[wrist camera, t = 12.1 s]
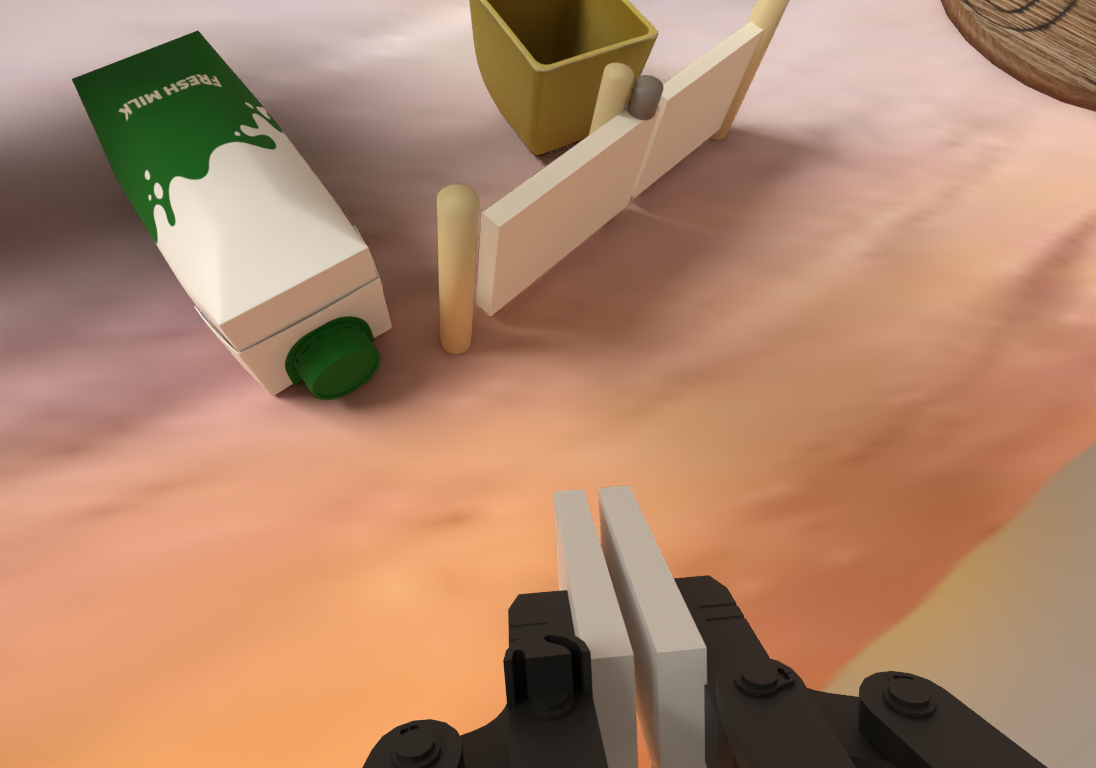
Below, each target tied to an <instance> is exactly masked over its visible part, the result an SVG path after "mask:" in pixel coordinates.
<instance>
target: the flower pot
mask: <svg viewBox="0 0 1096 768" xmlns="http://www.w3.org/2000/svg"><path fill="white" fill-rule="evenodd" d="M469 1H470V11H471V20H472V29H473V37H474V46H475V52H476V57H477V62H478V66H479V69H480V72H481V75H482V78H483V80H484V83H485V85H486V87H487V89H488V91H489V93H490V95H491V97H492V99H493V100H494V102H495V104H496V106H497V107H498V109H499V111H500V113H501V114H502V115H503V116H504V118H505V119H506V120H507V122H508V123H509V124H510V125H511V127H512V128H513V129H514V131H515V132H516V133H517V134H518V136H519V137H520V138H521V140H522V141H523V142H524V144H525V145H526V146H527V148H528V149H529V150H530V151H531V152H532V153H533V154H535V155H541V154H544V153H547V152H550V151H553V150H555V149H558V148H561V147H563V146H566V145H569V144H572V143H575V142H578V141H580V140H583V139H585V138H586V137H588V136H589V132H590V128H591V124H592V120H593V115H594V111H595V107H596V102H597V98H598V94H599V90H600V85H601V81H602V77H603V72H604V69H605V67H606V66H607V65H608V64H610V63H622V64H625V65H627V66H628V67H630V68H631V69H632V71H633V73H634V77H633V81H632V85H631V88H630V92H629V95H628V99H627V102H628V100H629V98H630V96H631V92H632V89H633V85H634V82H635V80H636V78H638V77H639V76H640V75H641V73H642V71H643V68H644V66H645V64H646V62H647V59H648V57H649V55H650V52H651V50H652V48H653V45H654V43H655V41H656V38H657V36H658V31H657V30H656V28H655V27H654V26H653V25H652V24H651V23H650V22H649V21H648V20H647V19H646V18H645V16H643V15H642V14H641V13H640V12H639V11H638V10H637V9H636V8H635V7H634V5H633V4H632V3H630V2H629V1H628V0H469ZM627 102H626V103H627Z"/></svg>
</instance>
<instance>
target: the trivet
mask: <svg viewBox="0 0 1096 768" xmlns="http://www.w3.org/2000/svg"><path fill="white" fill-rule="evenodd" d="M941 2H942V5H943V7H944V9H945V12H946V14H947V16H948V18H949V19H950V20H951V22H952V23H953V24H954V25H955V27H956V28H957V29H958V31H959V32H960V33H961V35H962V36H963V37H964V38H965V40H966V41H967V42H968V43H969V44H971V45H972V46H973V47H974V48H975V49H976V50H977V51H978V52H980V53H981V54H982V55H983V56H984V57H985V58H986V59H987V60H989V61H990V62H991V63H992V64H993V65H995V66H996V67H998V68H999V69H1001V70H1003V71H1004V72H1006V73H1007V74H1009V75H1010V76H1012V77H1013V78H1015V79H1017V80H1018V81H1020V82H1021V83H1023V84H1024V85H1026V86H1028V87H1030V88H1033V89H1035V90H1037V91H1039V92H1041V93H1044V94H1046V95H1048V96H1050V97H1052V98H1055V99H1057V100H1059V101H1061V102H1064V103H1067V104H1071V105H1074V106H1078V107H1081V108H1085V109H1088V110H1092V111H1095V112H1096V0H941Z"/></svg>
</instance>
